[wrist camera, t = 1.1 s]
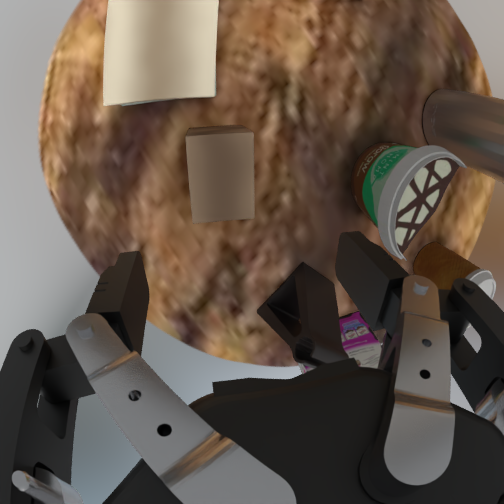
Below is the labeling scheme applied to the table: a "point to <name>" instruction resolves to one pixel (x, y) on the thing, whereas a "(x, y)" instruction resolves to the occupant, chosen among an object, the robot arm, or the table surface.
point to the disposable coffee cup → (450, 269)
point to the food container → (401, 188)
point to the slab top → (159, 50)
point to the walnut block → (221, 173)
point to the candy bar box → (357, 342)
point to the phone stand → (306, 317)
